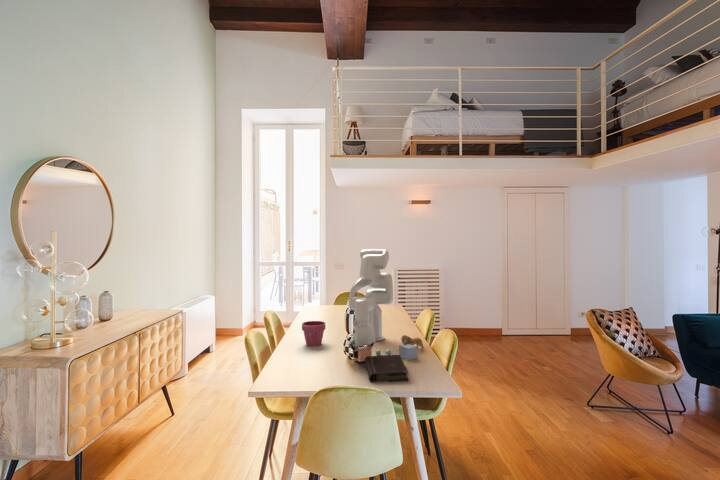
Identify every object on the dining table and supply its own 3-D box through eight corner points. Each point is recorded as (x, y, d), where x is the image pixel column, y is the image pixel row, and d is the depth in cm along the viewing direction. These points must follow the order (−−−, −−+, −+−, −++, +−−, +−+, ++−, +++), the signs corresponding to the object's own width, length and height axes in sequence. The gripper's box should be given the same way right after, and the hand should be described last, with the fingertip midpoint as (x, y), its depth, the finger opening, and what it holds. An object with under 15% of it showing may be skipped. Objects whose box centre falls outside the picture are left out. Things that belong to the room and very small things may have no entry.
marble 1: (374, 349, 213) (376, 352, 210) (379, 348, 213) (381, 350, 211) (375, 354, 214) (377, 357, 211) (380, 352, 214) (382, 355, 211)
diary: (369, 384, 173) (369, 372, 173) (365, 365, 198) (364, 355, 198) (410, 382, 174) (410, 371, 174) (401, 364, 199) (401, 354, 199)
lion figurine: (403, 352, 217) (403, 336, 217) (399, 350, 222) (399, 334, 222) (426, 349, 223) (426, 334, 223) (421, 347, 228) (421, 331, 228)
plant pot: (310, 339, 245) (310, 319, 245) (329, 342, 239) (329, 321, 238) (297, 345, 232) (297, 324, 232) (317, 348, 226) (317, 326, 226)
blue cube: (399, 356, 209) (398, 345, 209) (409, 354, 213) (409, 343, 213) (407, 360, 203) (407, 349, 203) (417, 358, 207) (417, 347, 207)
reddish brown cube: (360, 361, 198) (359, 350, 198) (353, 358, 204) (353, 346, 204) (371, 359, 201) (371, 348, 201) (364, 356, 207) (364, 344, 207)
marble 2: (385, 352, 215) (384, 351, 212) (390, 348, 215) (388, 348, 212) (388, 356, 213) (387, 355, 211) (393, 353, 213) (391, 352, 210)
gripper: (351, 326, 195) (351, 361, 195) (379, 322, 204) (380, 356, 204) (343, 323, 201) (344, 357, 201) (372, 319, 210) (372, 352, 210)
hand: (362, 356), depth 203 cm, fingers closed on reddish brown cube, 7 cm apart
